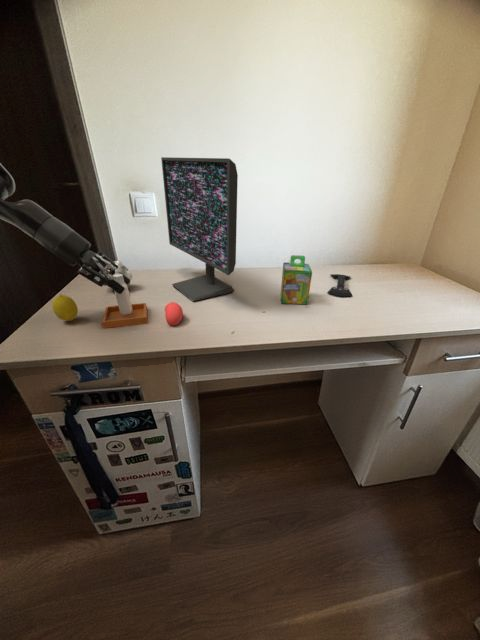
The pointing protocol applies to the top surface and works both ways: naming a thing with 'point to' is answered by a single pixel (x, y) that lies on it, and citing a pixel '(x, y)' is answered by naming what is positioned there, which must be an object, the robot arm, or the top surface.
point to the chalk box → (296, 281)
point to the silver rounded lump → (122, 271)
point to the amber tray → (125, 316)
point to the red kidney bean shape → (173, 313)
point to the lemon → (65, 307)
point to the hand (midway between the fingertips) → (125, 287)
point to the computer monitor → (202, 218)
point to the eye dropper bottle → (123, 295)
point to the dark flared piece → (340, 286)
